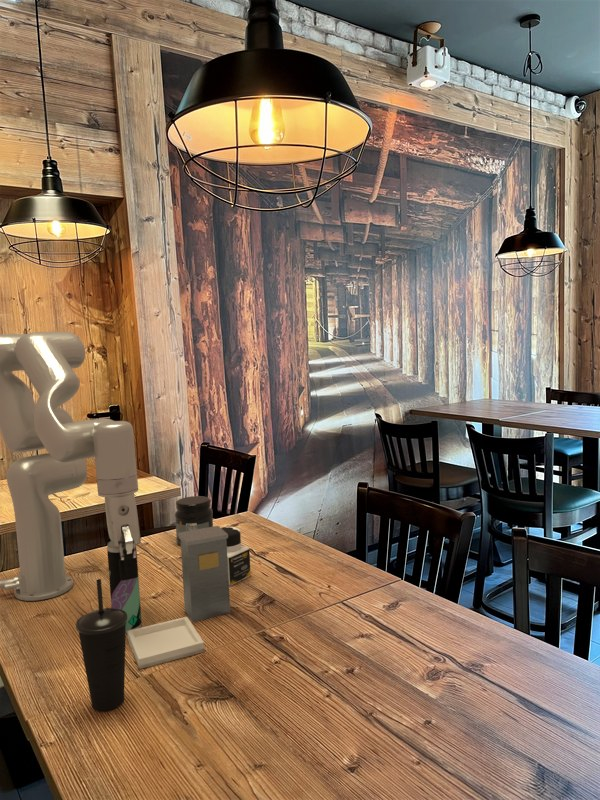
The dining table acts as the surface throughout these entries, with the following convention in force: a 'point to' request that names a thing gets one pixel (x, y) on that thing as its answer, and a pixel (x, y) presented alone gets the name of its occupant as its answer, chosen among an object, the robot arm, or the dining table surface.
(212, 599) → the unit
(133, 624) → the spray can
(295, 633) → the dining table surface
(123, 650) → the drinking cup
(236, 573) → the medicine bottle
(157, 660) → the dish
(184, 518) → the supplement container
